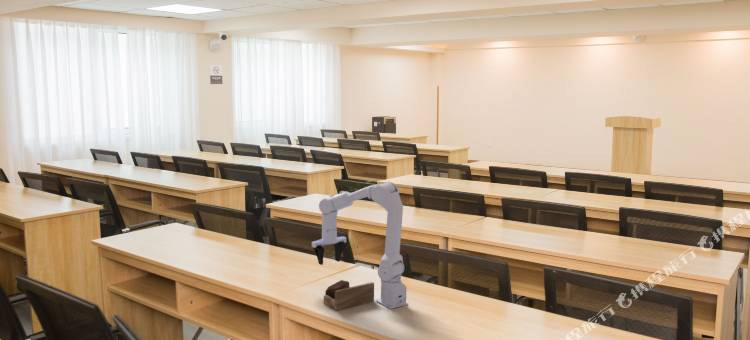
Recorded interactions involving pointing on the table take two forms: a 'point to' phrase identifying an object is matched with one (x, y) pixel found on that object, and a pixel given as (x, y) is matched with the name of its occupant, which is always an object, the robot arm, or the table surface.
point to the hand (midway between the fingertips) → (329, 262)
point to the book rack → (351, 296)
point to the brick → (336, 288)
